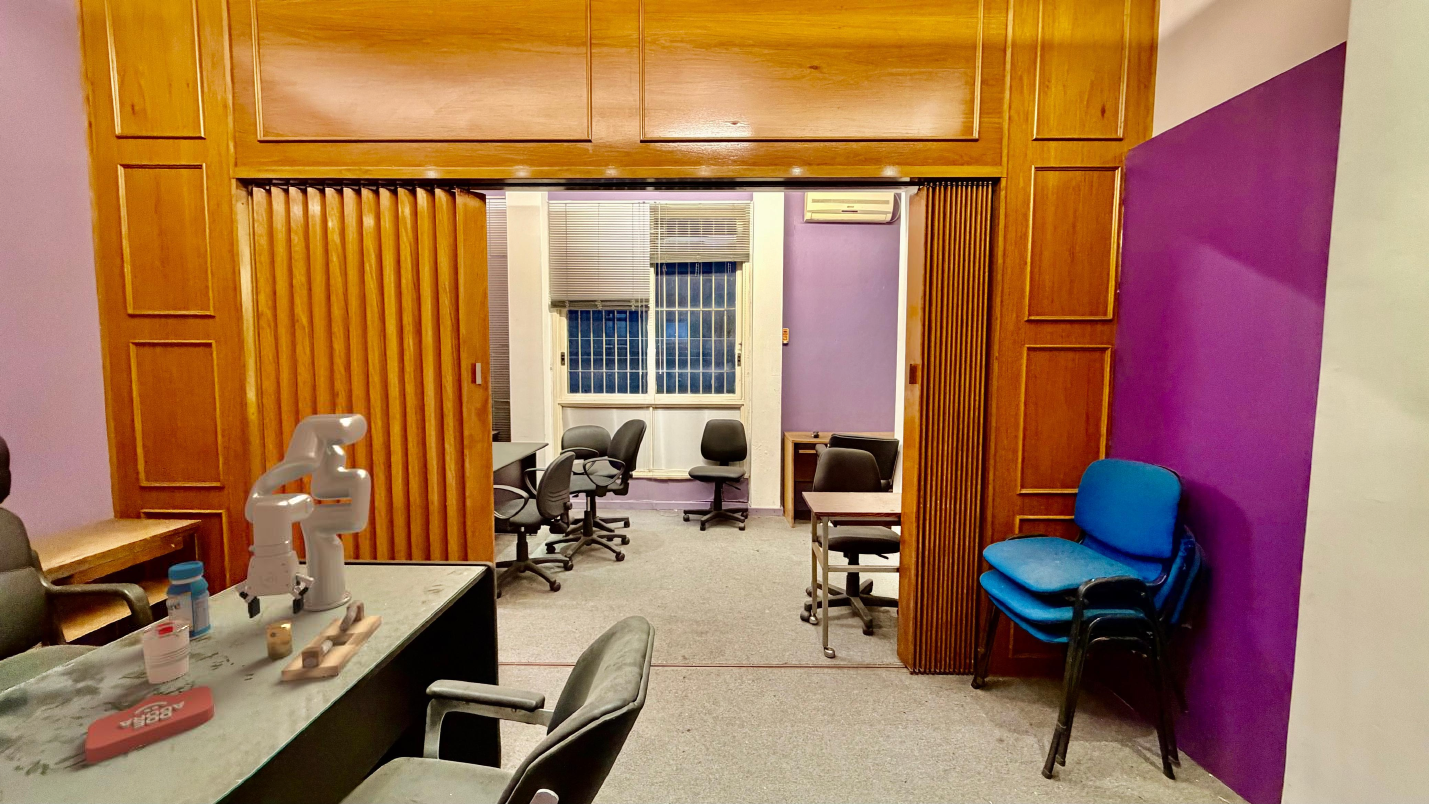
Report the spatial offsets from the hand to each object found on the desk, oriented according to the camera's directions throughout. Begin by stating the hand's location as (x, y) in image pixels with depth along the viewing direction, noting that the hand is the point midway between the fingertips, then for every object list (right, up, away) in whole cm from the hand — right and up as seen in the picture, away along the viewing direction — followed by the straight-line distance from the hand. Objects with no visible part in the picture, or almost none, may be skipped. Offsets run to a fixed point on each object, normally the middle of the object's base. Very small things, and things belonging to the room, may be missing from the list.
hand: (276, 614), depth 136 cm
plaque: (-6, -14, -25) cm, 29 cm away
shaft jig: (+12, -11, +4) cm, 17 cm away
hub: (0, -11, +2) cm, 11 cm away
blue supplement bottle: (-33, -11, +11) cm, 36 cm away
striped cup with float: (-20, -12, -8) cm, 24 cm away
